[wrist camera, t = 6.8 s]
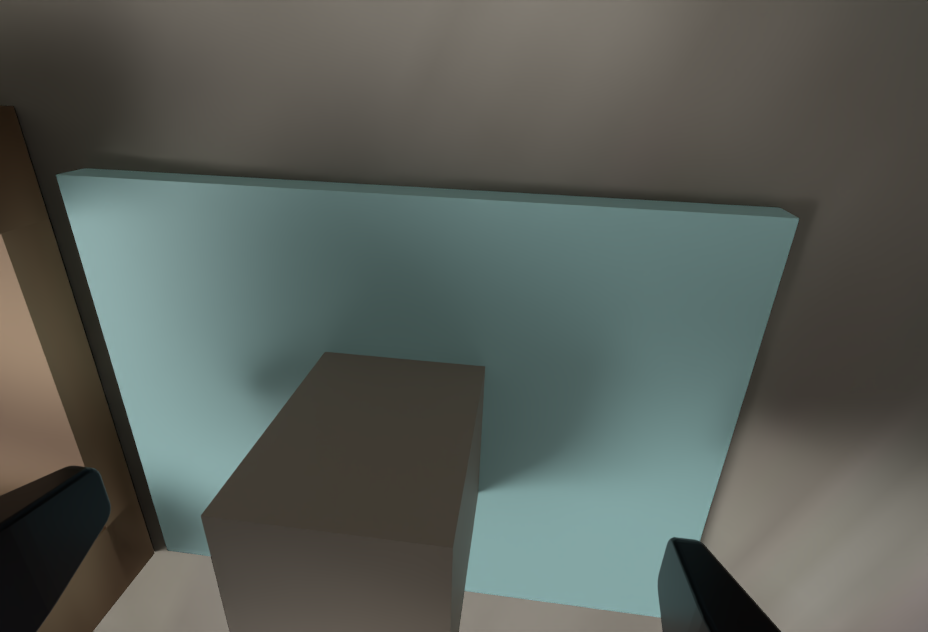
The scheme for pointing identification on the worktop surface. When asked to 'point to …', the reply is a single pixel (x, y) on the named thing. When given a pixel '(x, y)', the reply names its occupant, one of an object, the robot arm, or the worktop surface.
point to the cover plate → (456, 288)
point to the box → (56, 391)
